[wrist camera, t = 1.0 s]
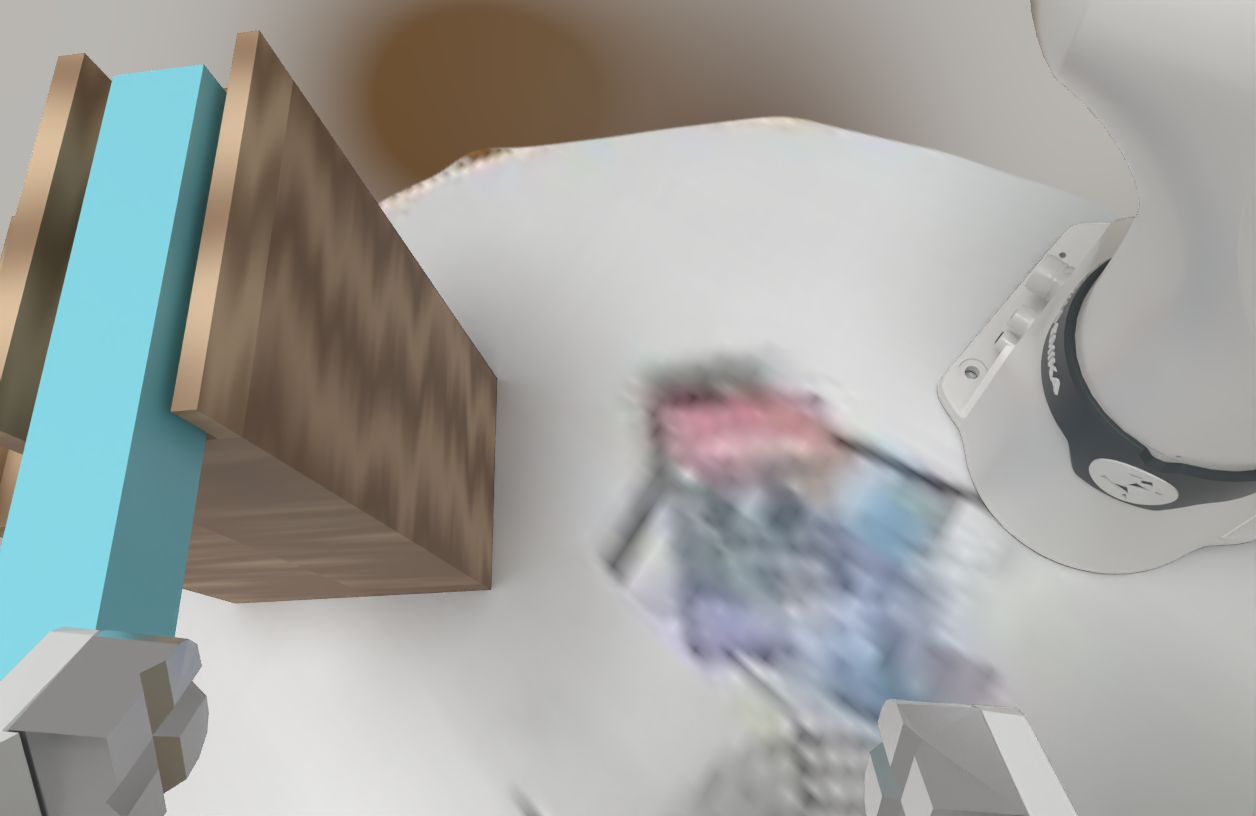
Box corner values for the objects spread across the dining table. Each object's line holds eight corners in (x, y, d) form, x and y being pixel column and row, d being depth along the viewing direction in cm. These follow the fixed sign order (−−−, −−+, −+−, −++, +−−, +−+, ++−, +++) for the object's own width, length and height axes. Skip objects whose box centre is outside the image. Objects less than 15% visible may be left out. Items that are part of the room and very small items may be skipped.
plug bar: (172, 138, 32) (113, 75, 29) (254, 128, 31) (203, 64, 29) (48, 756, 24) (-50, 757, 21) (156, 752, 24) (71, 753, 21)
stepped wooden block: (262, 397, 60) (-169, 85, 32) (496, 378, 58) (259, 30, 30) (235, 603, 55) (-310, 449, 27) (490, 589, 53) (197, 409, 25)
